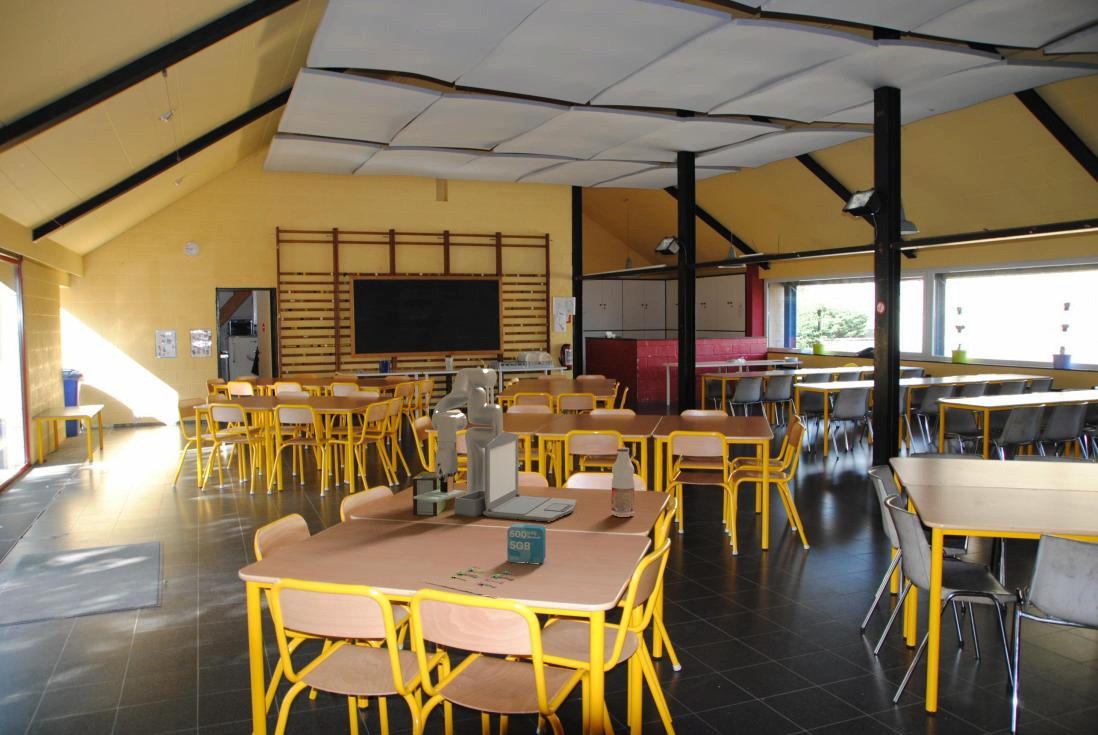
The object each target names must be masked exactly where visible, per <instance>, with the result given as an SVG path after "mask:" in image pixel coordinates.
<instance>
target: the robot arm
mask: <svg viewBox="0 0 1098 735" xmlns="http://www.w3.org/2000/svg"><path fill="white" fill-rule="evenodd" d="M497 377H498V376H497V373H496V370H494V368H483V367H482V368H475V367H469V368H468V367H467V368H460V369H459V370H458V371H457V373H456V375H455V379H454V381H453V386H452V388H451V392H450V393H448V394H446V395H445V396H444V397H442V398H441V399H440V400H439V401H438V402H437V404H436V405H435V407H434V410H433V414H432V417H431V426H432V428H433V429H434V430H437V449H436V452H435V458H434V459H435V460H434V472H435V473H436V477H437V478H438V479H439V482H440V491H441V492H447V482H446V480H447V476H453V490H455V487H454V486H455V482H454V481H455V479H456V478H455V477H456V475H457V473H458V472H459V470H458V467H459V460H458V459H459V458H458V451H457V432H460V431H463V430H464V429H465V428H466V427H467V425H468V422H469V423H470V424H472V425H477V426H472V427H469V428H468V429H467V430H465V433H464V441H465V444H466V445H465V446H466V461H467V462H466V482H467V483H466V490H467V491H465V493H463V495H466V494H469V493H472V492H475V491H478V490H481V491H485V448H486V445H488V444H489V443H490V442H491V441H492V440H493V439H494V438H496V437H497V436H498V435H499V434H500V433H501V432H504V417H503V416H504V415H503V409H502V407H501V406H500V405H499V404H495V403H494V404H493V403H487V397H486V396H487V393H486V391H485V389H489V388H491V389H493V387H495V385H496V384H497V381H498V380H497V379H498V378H497ZM466 404H467V416H466V414H465V413H462V412H457V411H456V412H454V411H452V412H451V410H452V409H453V410H454V409H455V408H458V407H461V406H464V405H466ZM479 425H482V426H479ZM483 425H484V426H483ZM485 426H490V427H485ZM442 473H443V474H442ZM443 476H444V477H443Z"/></svg>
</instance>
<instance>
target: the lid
mask: <svg viewBox="0 0 1098 735" xmlns="http://www.w3.org/2000/svg"><path fill="white" fill-rule="evenodd" d="M443 477H444V476H443ZM446 482H447V492H441V491H440V489H439V490H435V491H432V492H427V493H424V494H421V495H417V496H414V497H413V496H412V500H413V499H420V500H422V501H429V502H438V501H441V500H445V499H446V500H448V499H451V498H456V497H458V496H459V495H460V496H461V495H462V494H463V495H464V493H465V492H466V491H465V490H460V489H459V490H458V489H454V490H453V476H447V480H446Z"/></svg>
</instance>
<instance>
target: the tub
mask: <svg viewBox="0 0 1098 735" xmlns="http://www.w3.org/2000/svg"><path fill="white" fill-rule="evenodd" d="M485 510H486V505H485V491H481V490H478V491H475V492H472V493H469V494H466V495H464V494H463V495H460V496H459V495H458V496H455V497H454V515H455V516H461V517H468V518H473V519H474V518H478V517H480V516H484V514H483V511H485Z"/></svg>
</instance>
